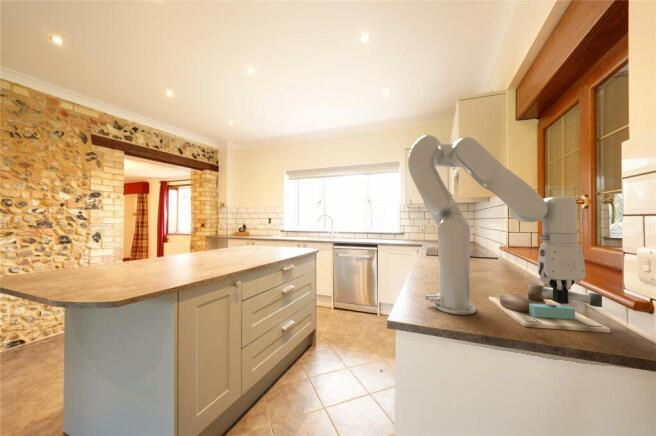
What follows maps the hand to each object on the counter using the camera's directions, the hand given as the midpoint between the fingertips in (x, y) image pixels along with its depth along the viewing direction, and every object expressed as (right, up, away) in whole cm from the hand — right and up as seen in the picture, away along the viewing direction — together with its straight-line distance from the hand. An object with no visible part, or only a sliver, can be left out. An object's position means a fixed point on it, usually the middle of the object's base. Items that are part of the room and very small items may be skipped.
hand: (560, 302), depth 74 cm
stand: (0, -6, +8) cm, 10 cm away
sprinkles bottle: (+17, -6, +24) cm, 30 cm away
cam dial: (+1, -4, +7) cm, 8 cm away
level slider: (-1, -5, +1) cm, 5 cm away
